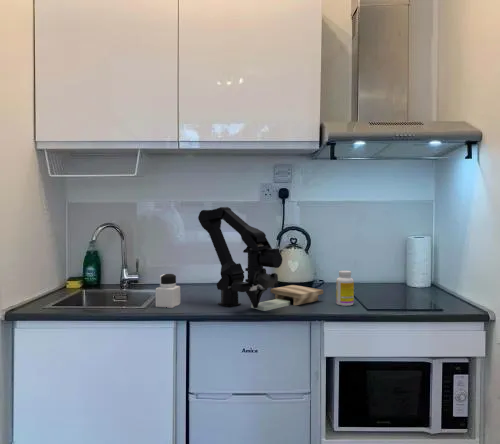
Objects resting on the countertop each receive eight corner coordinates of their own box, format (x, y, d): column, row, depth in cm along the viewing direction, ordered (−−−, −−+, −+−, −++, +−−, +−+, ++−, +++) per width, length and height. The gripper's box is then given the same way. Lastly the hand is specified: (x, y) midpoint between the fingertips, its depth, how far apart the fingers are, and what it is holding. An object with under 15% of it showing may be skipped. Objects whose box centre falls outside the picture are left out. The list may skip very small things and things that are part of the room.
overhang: (300, 306, 183) (300, 294, 183) (270, 300, 195) (270, 288, 194) (323, 301, 192) (323, 289, 192) (292, 295, 204) (293, 284, 204)
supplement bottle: (357, 305, 186) (357, 271, 185) (344, 306, 182) (344, 273, 182) (345, 301, 192) (346, 269, 191) (332, 303, 188) (332, 270, 188)
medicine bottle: (180, 304, 187) (180, 273, 187) (172, 308, 180) (172, 276, 180) (163, 303, 189) (163, 272, 189) (155, 306, 182) (155, 275, 182)
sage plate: (264, 311, 176) (264, 306, 176) (251, 308, 181) (251, 303, 181) (290, 305, 186) (290, 301, 185) (276, 302, 191) (276, 298, 191)
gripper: (251, 270, 165) (251, 315, 165) (289, 265, 177) (288, 307, 178) (230, 267, 173) (230, 310, 174) (267, 262, 186) (267, 302, 186)
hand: (255, 307), depth 178 cm, fingers closed
